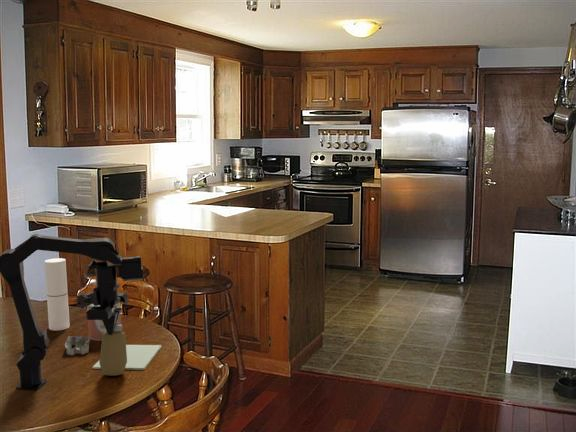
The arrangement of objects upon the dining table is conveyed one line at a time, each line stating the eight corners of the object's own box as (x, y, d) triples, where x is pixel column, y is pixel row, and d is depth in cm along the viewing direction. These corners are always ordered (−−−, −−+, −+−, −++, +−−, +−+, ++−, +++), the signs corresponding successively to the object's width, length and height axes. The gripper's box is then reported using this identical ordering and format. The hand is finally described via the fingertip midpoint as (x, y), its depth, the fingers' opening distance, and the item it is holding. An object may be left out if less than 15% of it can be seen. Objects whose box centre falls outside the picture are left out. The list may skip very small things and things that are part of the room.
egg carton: (88, 355, 211) (87, 342, 210) (64, 356, 209) (63, 344, 209) (91, 343, 221) (91, 332, 220) (68, 345, 220) (67, 333, 219)
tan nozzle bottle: (96, 372, 194) (98, 311, 195) (124, 370, 198) (125, 311, 198) (101, 377, 187) (103, 314, 188) (129, 375, 190) (131, 313, 191)
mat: (144, 369, 197) (144, 367, 197) (92, 368, 198) (92, 367, 198) (161, 346, 216) (161, 345, 216) (114, 346, 218) (114, 344, 218)
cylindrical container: (48, 331, 234) (43, 263, 230) (49, 325, 241) (45, 259, 237) (69, 329, 236) (65, 261, 232) (70, 323, 243) (66, 257, 239)
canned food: (89, 342, 222) (87, 308, 220) (88, 332, 233) (86, 299, 231) (123, 338, 225) (121, 304, 224) (120, 328, 236) (119, 296, 234)
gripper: (91, 274, 197) (95, 324, 199) (65, 290, 179) (70, 345, 181) (127, 274, 196) (130, 324, 198) (105, 290, 178) (109, 345, 180)
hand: (110, 334), depth 189 cm, fingers closed
